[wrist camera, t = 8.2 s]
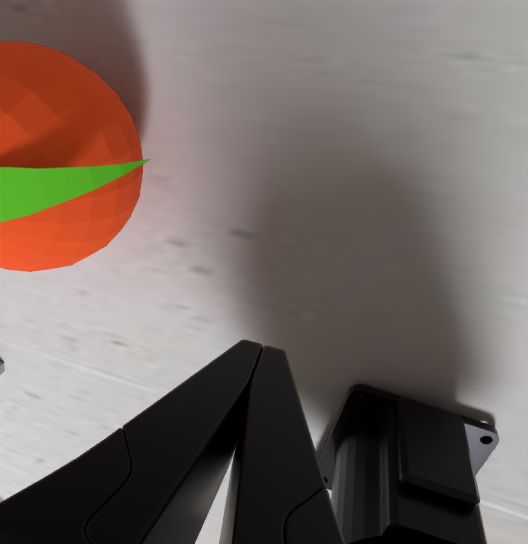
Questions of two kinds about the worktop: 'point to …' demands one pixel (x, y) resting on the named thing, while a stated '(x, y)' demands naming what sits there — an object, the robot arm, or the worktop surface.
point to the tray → (1, 367)
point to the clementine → (61, 159)
